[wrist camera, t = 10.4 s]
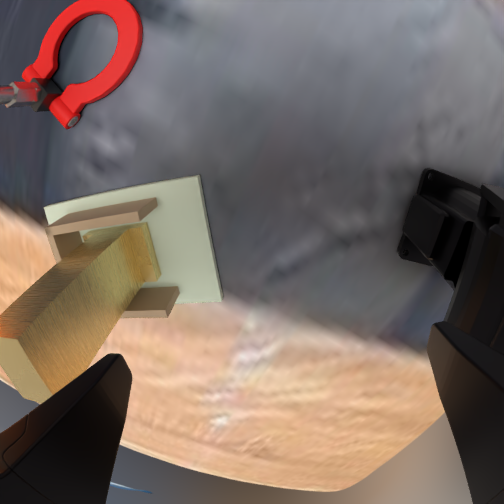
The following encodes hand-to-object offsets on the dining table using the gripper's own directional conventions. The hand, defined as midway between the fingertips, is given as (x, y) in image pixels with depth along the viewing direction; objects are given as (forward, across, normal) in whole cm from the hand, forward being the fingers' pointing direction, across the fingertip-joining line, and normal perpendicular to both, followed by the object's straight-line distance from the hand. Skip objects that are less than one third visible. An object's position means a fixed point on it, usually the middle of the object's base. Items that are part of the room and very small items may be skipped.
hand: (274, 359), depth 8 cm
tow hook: (+14, +11, -14) cm, 22 cm away
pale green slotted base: (+13, +11, +1) cm, 17 cm away
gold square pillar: (+13, +11, +1) cm, 17 cm away
